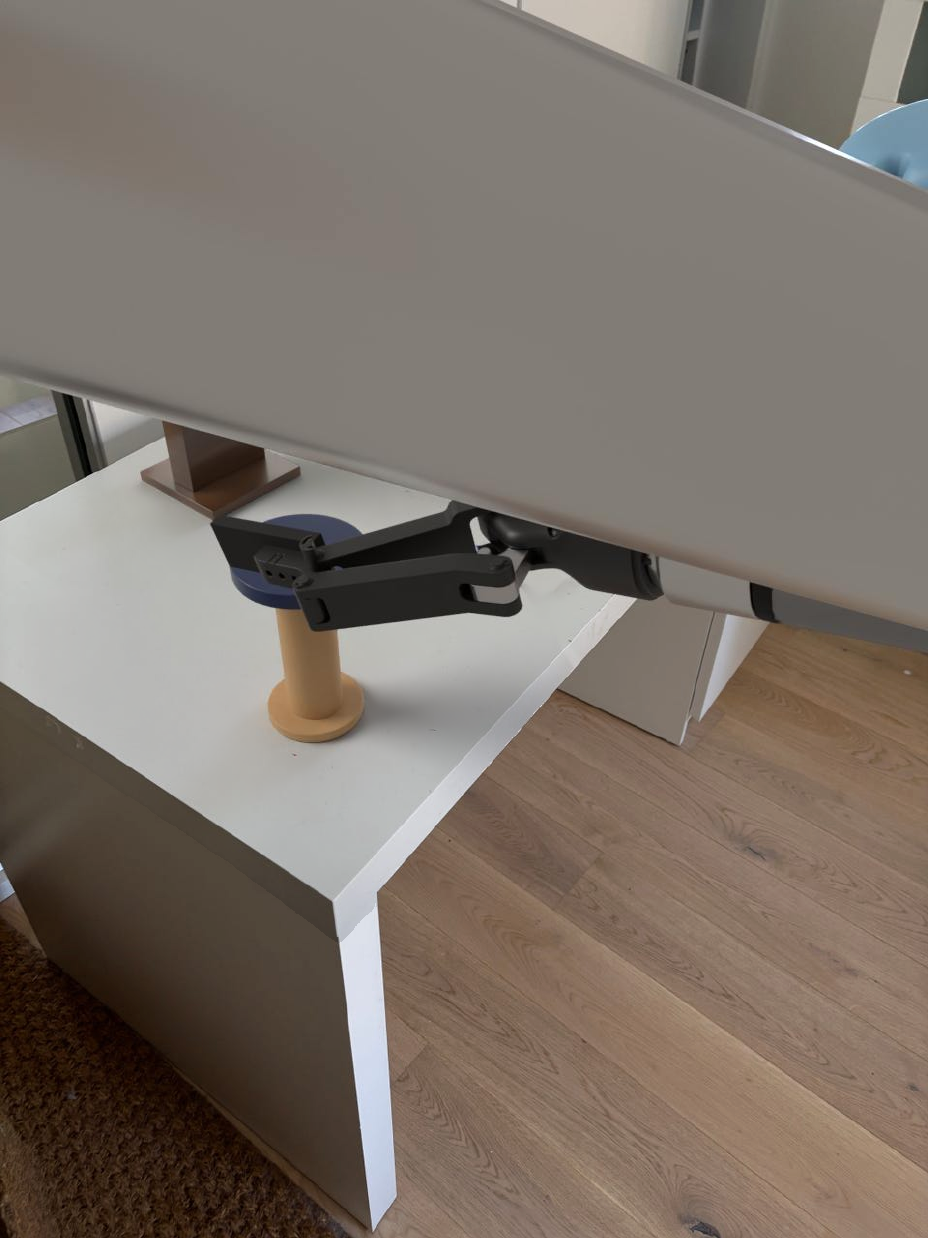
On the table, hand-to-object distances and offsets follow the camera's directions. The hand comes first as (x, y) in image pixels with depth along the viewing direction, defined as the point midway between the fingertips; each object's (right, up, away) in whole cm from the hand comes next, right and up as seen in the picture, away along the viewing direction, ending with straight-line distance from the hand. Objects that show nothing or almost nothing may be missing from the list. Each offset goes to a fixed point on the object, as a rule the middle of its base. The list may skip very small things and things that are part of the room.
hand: (303, 466), depth 53 cm
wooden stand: (-13, +4, +42) cm, 44 cm away
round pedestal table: (-2, -15, +19) cm, 24 cm away
